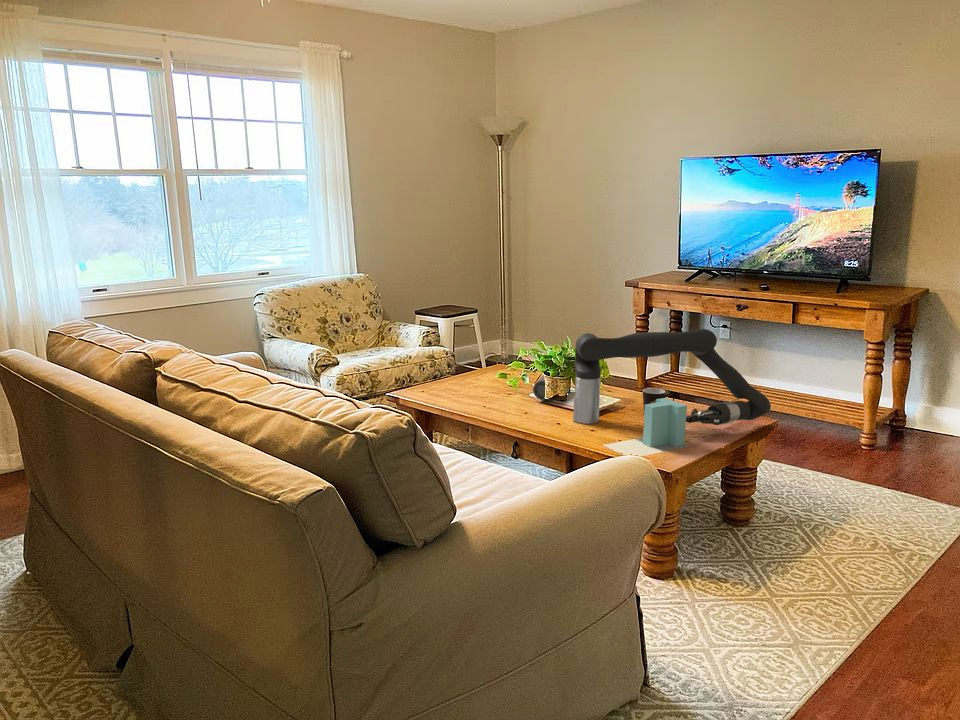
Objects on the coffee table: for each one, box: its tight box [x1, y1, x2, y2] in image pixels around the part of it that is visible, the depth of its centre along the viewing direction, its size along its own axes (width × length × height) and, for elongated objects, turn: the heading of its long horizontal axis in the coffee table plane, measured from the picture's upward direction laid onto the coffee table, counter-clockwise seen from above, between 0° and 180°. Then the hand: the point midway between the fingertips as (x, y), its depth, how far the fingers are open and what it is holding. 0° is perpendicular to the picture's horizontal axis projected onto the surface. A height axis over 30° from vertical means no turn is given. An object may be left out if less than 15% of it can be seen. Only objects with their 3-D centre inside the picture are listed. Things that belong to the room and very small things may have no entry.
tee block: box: [642, 397, 688, 447], centre depth 271 cm, size 12×11×14 cm
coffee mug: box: [642, 387, 675, 412], centre depth 305 cm, size 12×9×10 cm
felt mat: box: [602, 436, 691, 457], centre depth 270 cm, size 26×15×1 cm, turn 118°
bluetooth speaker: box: [532, 376, 546, 401], centre depth 332 cm, size 23×9×10 cm, turn 157°
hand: (687, 419), depth 276 cm, fingers closed
